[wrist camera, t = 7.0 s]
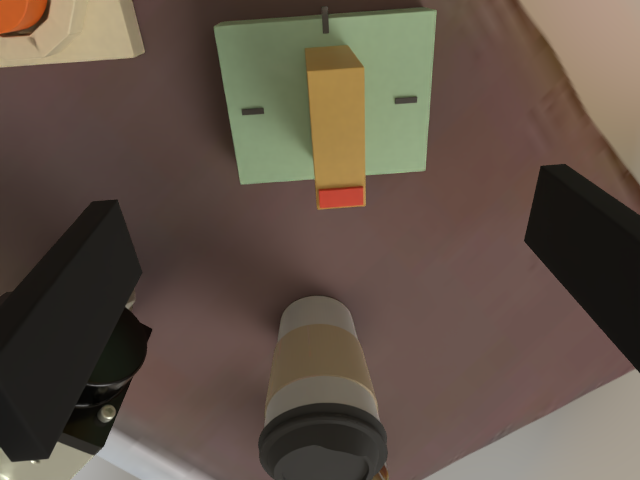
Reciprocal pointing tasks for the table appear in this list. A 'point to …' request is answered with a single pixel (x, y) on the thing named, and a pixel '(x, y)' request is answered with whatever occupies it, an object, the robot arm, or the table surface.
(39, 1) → the bell button
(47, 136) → the table surface
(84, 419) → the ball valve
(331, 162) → the yellow rectangular block
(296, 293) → the table surface
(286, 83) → the plate
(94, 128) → the table surface
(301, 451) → the coffee cup
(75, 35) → the beige button mount
